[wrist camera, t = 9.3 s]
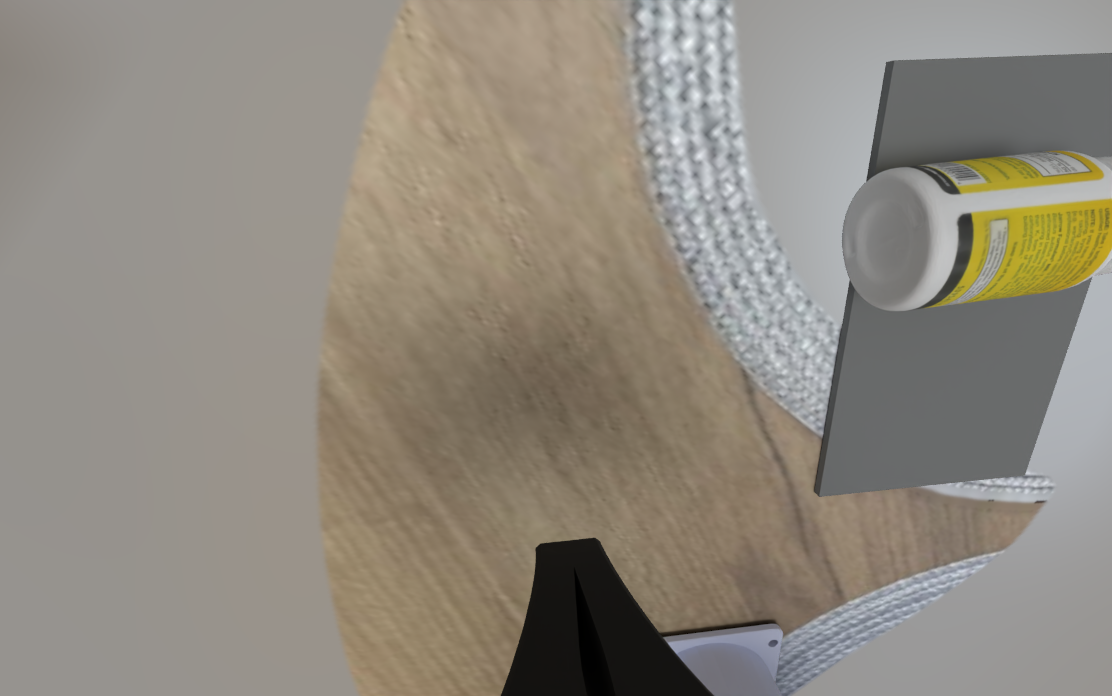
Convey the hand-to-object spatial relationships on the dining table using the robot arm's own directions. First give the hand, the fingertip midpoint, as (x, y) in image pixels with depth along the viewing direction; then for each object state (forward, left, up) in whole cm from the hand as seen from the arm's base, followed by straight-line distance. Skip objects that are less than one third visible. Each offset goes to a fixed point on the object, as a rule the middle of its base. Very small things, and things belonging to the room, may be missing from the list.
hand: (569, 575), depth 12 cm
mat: (+2, -18, -10) cm, 21 cm away
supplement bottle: (+5, -12, -8) cm, 15 cm away
